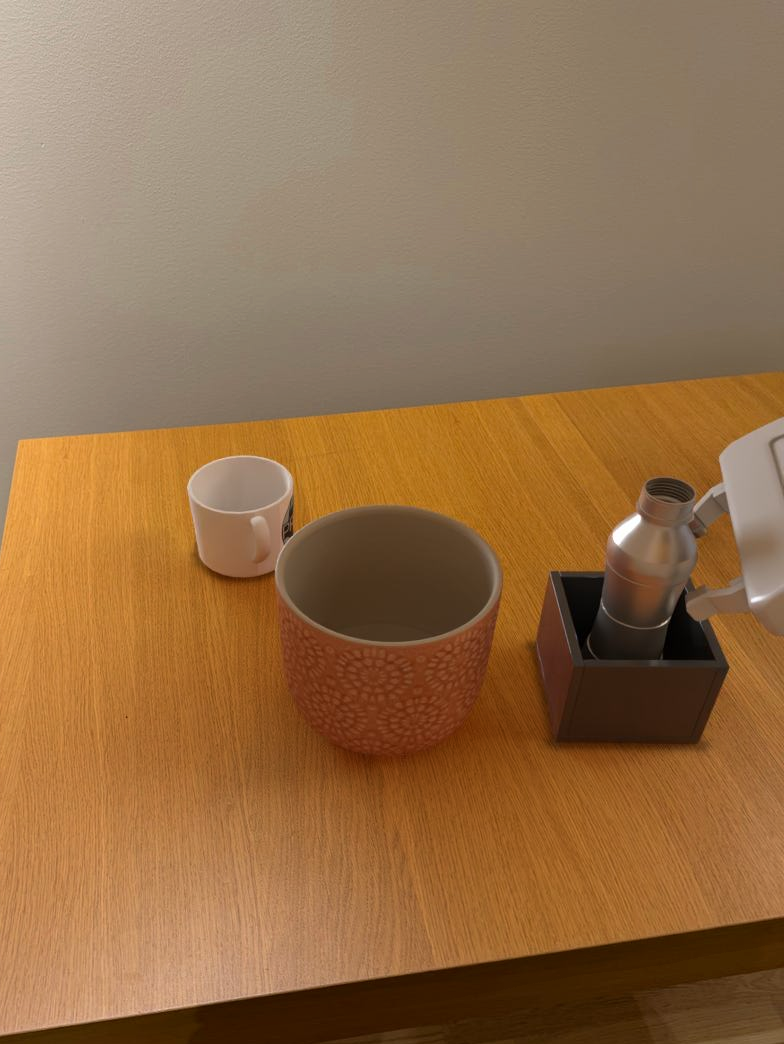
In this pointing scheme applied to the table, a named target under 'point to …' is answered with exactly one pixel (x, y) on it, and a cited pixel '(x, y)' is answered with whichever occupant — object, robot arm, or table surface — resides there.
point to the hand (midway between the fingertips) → (684, 569)
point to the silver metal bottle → (645, 574)
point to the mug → (241, 514)
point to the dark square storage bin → (624, 672)
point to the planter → (386, 625)
